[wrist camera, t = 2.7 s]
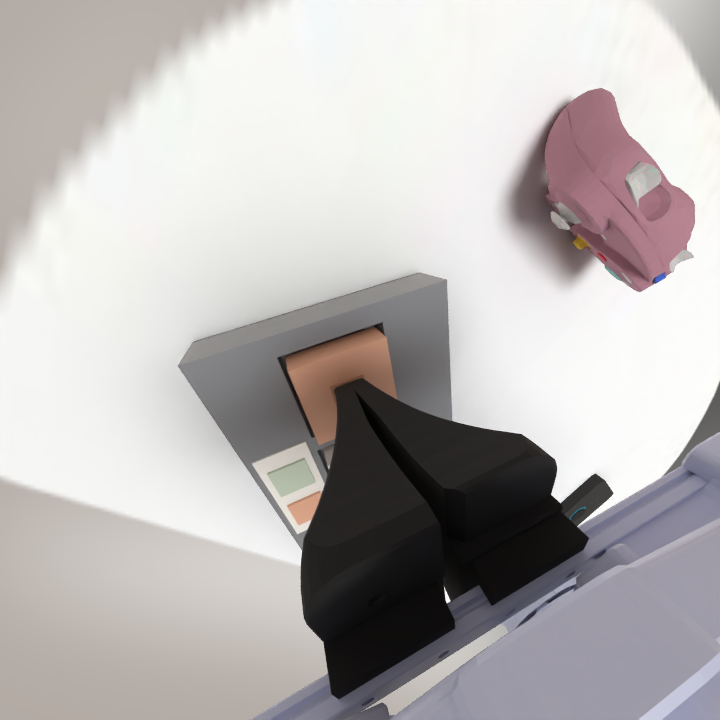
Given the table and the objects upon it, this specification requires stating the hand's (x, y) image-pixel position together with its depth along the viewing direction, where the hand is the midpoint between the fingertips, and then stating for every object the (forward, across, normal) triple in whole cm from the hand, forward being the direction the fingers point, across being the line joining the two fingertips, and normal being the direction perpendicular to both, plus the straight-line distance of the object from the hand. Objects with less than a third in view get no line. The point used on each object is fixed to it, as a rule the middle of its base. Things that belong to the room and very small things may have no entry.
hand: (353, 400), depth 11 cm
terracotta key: (+2, 0, 0) cm, 2 cm away
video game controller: (+4, -16, -4) cm, 18 cm away
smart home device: (+5, -24, +39) cm, 46 cm away
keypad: (+4, 0, +6) cm, 7 cm away
